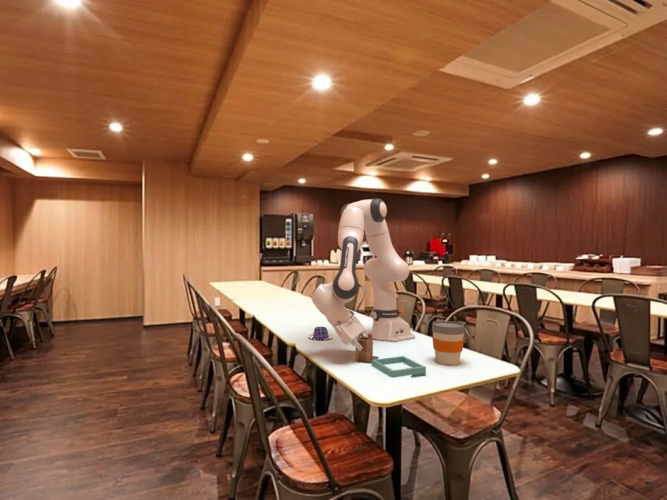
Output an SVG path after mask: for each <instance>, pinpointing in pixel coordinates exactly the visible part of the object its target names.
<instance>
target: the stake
mask: <svg viewBox="0 0 667 500" xmlns="http://www.w3.org/2000/svg"><path fill="white" fill-rule="evenodd" d="M379 357H380V356H374V355H373V358H372V359H371V360H370V362H368V361H359V360H355V354H354V355H353V356H352V357H351V358H349V360H348V362H354V363H362V364H368V365H369V364H370V365H372V360H374V359H380V358H379Z"/></svg>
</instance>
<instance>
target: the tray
mask: <svg viewBox="0 0 667 500" xmlns="http://www.w3.org/2000/svg"><path fill="white" fill-rule="evenodd" d="M401 363H404V364H405V365H408V366H409V367H408V368H407V367H406V368H399V369H392V368H391V367H388V366H386V365H392V364H401ZM371 366H372V367H374V368H375V369H377V370H379V371H380V372H382V373H383V374H386V375H387V376H388V377H390V378H397V377H406V376H410V375H411V376H410V378H417V377H424V376H426V375H427V367H426V366H425V365H423V364H421V363H419V362H417V361H415V360H412V359H411V358H408V357H406V356H404V355H401V356H394V357H391V356H390V357H385V358H383V357H382V358H378V359H374V360H372V364H371Z"/></svg>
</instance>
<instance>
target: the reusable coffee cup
mask: <svg viewBox="0 0 667 500" xmlns="http://www.w3.org/2000/svg"><path fill="white" fill-rule="evenodd" d="M431 331H432V346H433V350H434V356H435V362H436V363H437V364H440V365H443V366H457V365H459V364H460V362H461V361H460V360H461V355H462V352H463V349H464V342H465V340H464V339H465V338H464V337H465V336H464V335H465V332H466V331H465V324H463V323H461V322H456V321H451V320H450V321H449V320H437V321H433V322H432V327H431Z"/></svg>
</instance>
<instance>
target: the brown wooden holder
mask: <svg viewBox="0 0 667 500" xmlns="http://www.w3.org/2000/svg"><path fill="white" fill-rule="evenodd" d="M355 339H356V340H357V342H358V343H359V344H361V345H362V346H363V349H361V350H360V351H359V350H358V349H357V348H356V347H355V351H354V353H355V354H354V355H355V360H359V361H368V362H370V360H371V359H372V358H373V356H374V354H373V353H374V351H373V350H374V339H373V338H372V334H371V332H370V333H368V334H367V336H366V337H361V336H358V337H356V338H355Z"/></svg>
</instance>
